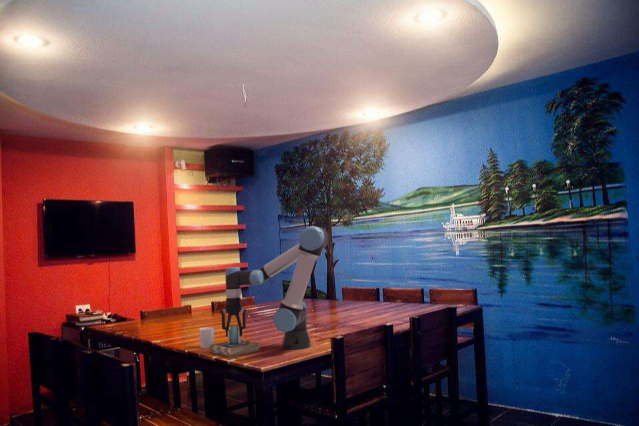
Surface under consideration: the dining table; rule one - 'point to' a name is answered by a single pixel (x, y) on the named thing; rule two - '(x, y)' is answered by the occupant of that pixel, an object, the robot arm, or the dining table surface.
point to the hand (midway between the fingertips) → (234, 342)
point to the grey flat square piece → (234, 348)
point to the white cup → (206, 337)
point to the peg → (234, 334)
